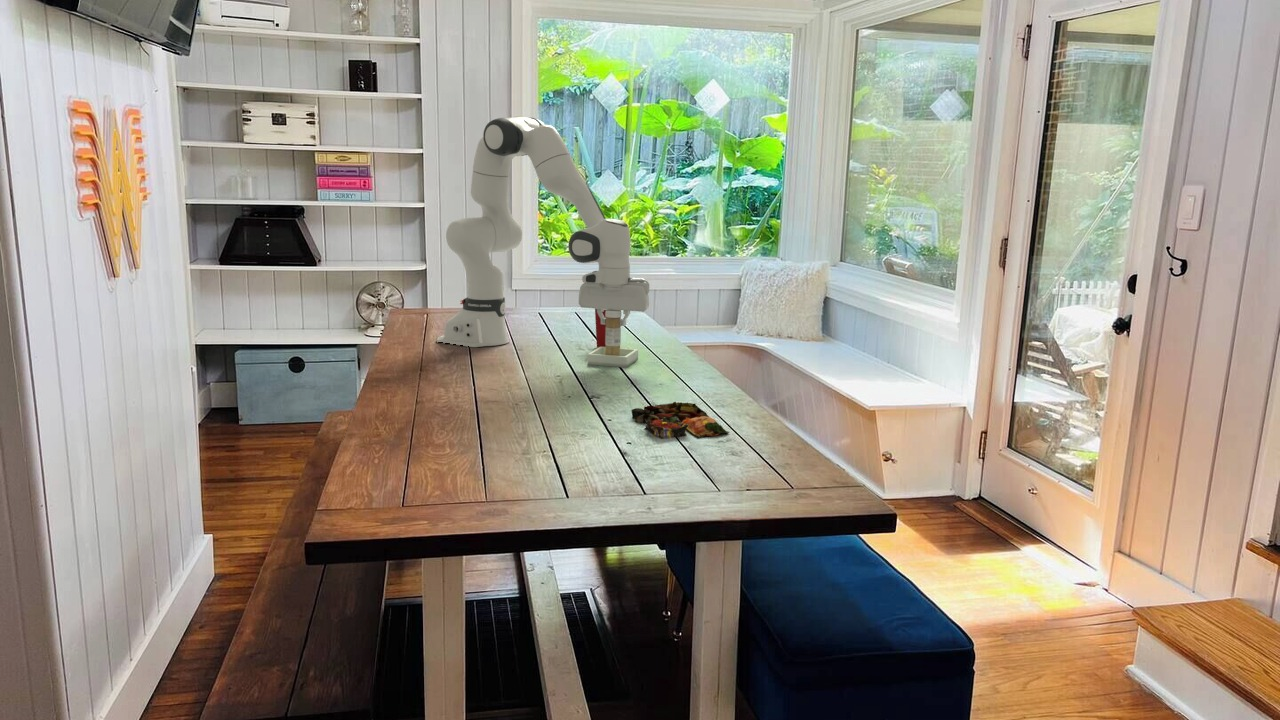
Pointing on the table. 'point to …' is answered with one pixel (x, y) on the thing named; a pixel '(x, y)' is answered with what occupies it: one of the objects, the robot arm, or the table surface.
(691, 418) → the food
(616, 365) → the tray
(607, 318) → the sprinkles bottle
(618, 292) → the robot arm
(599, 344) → the paper cup
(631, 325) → the table surface
